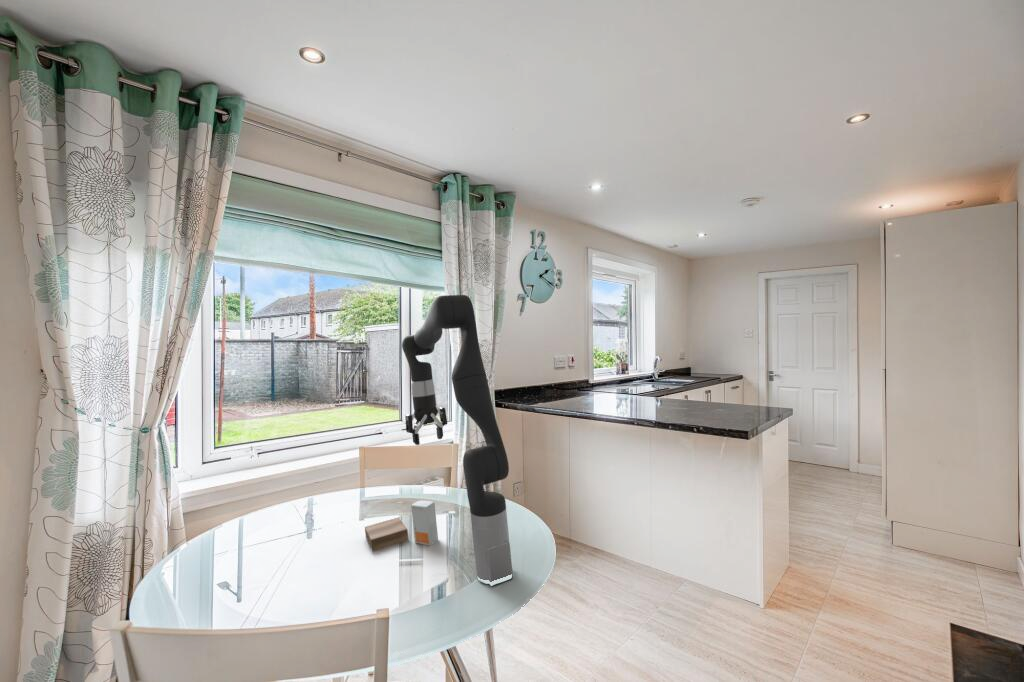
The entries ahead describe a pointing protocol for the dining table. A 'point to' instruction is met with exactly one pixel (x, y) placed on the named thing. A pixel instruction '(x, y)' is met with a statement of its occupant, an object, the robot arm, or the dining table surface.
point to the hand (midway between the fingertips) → (428, 441)
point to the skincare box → (424, 522)
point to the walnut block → (386, 534)
